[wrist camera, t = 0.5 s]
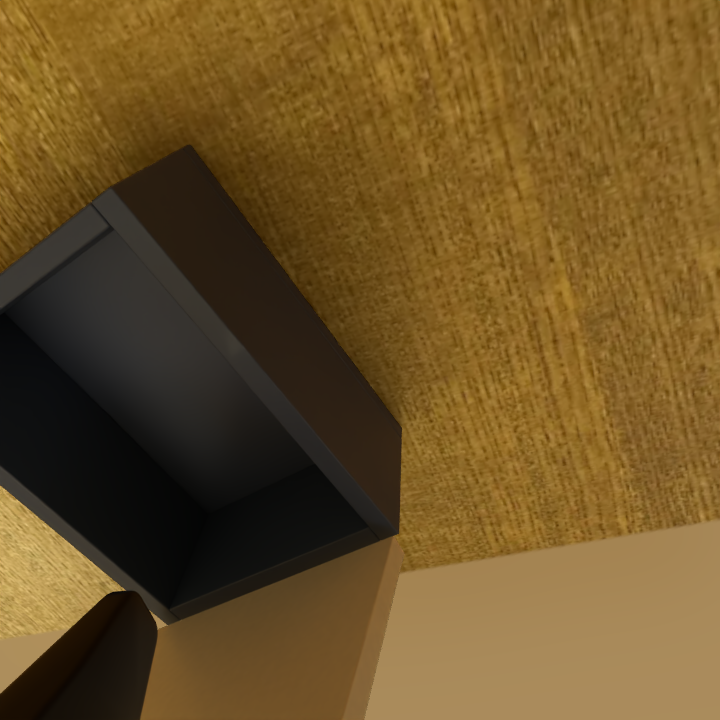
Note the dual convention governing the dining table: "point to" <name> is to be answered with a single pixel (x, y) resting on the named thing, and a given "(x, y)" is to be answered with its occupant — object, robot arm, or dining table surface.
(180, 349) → the box
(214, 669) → the lid
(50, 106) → the dining table surface
